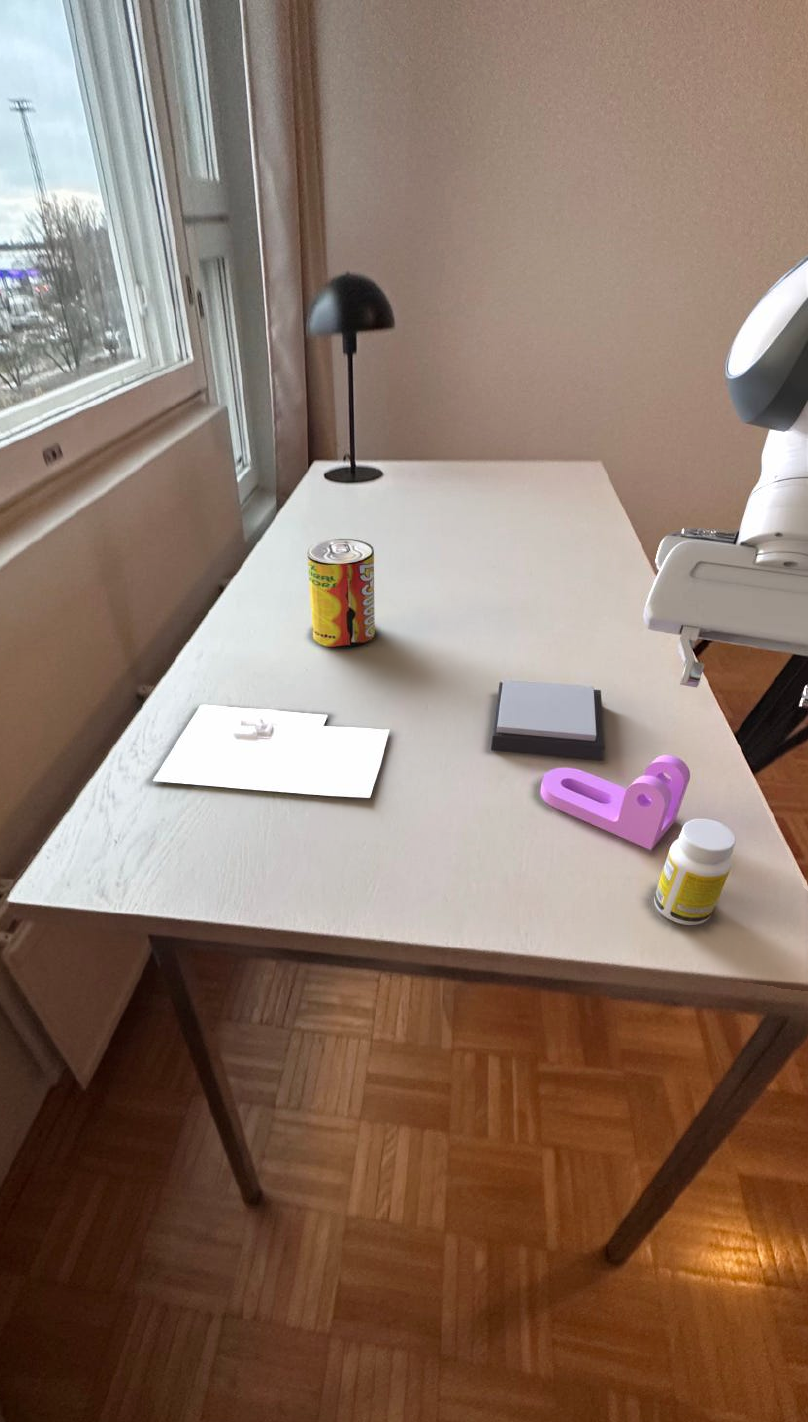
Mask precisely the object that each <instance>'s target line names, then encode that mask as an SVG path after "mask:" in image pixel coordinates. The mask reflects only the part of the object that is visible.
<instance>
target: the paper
mask: <svg viewBox="0 0 808 1422" xmlns="http://www.w3.org/2000/svg"><path fill="white" fill-rule="evenodd" d="M327 718H328V714H321V713H306V712H296V711H285V710H277V709H265V708H247V707H233V706H224V705H215V704H214V705H213V704H200V705H199V706H198V709H197V710H196V712H195V713H194V715H193V717H192V718H191V720H190V721H189V723H188V724H187V726H186V728H185V729H184V730H183V732H182V733H181V735H180V737H179V738H178V739H177V741H176V743H175V744H174V747H173V748H172V749H171V751H170V753H169V754H168V756H167V758H166V759H165V761H164V762H163V763H162V765H161V767H160V769H159V770H158V772H157V773H156V775H155V776H154V778H153V779H152V781H153V782H161V783H173V784H183V785H184V784H185V785H195V786H196V785H198V786H207V787H208V786H210V787H221V788H228V789H229V788H230V789H242V790H253V791H266V792H279V793H290V794H291V793H292V794H302V795H312V796H313V795H315V796H316V795H318V796H329V797H346V798H347V797H348V798H363V799H364V798H367V799H369V798H371V795H372V792H373V789H374V786H375V783H376V780H377V777H378V773H379V771H380V768H381V765H382V760H383V757H384V752H385V749H386V748H385V747H386V745H387V741H388V737H389V735H390V734H389V733H390V729H384V728H383V729H382V728H369V727H353V726H331V725H330V726H329V725H325V723H326V720H327Z"/></svg>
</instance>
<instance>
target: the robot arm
mask: <svg viewBox="0 0 808 1422" xmlns="http://www.w3.org/2000/svg"><path fill="white" fill-rule="evenodd" d="M724 375H725V381H726V387H727V392H728V395H729V399H730V401H731V404H732V406H733V409H734V411H735V413H736V415H737V416H738V417H737V418H738V419H739V421H740V422H741V423H743V424H746V425H750V426H755V427H759V428H763V429H767V430H769V431H768V433H767V436H766V440H765V443H764V445H763V449H762V453H761V458H760V459H761V471H760V476H759V479H758V481H757V482H756V484H755V486H754V487H753V489H752V490H751V492H750V494H749V497H748V500H747V503H746V506H745V510H744V513H743V516H742V520H741V523H740V525H739V526H740V527H739V529H738V531H733V530H724V529H705V528H700V527H698V526H683V528H682V529H679V530H674V531H672V532H670V533H669V534H667V535H666V536H664V537H663V539H662V540H661V542H660V543H659V546H658V550H657V553H656V556H655V563H654V564H655V567H656V570H657V571H658V572H657V575H656V577H655V579H654V581H653V584H652V585H651V588H650V591H649V594H648V597H647V599H646V602H645V605H644V609H643V614H642V619H643V622H644V624H645V626H646V627H647V629H648V630H649V631H652V632H658V633H659V632H660V633H664V634H672V635H677V636H679V639H678V643H677V650H678V653H679V656H680V659H681V662H682V666H683V667H684V669H683V672H682V675H681V679H680V681H679V685H681V686H686V687H691V688H698V687H699V684H700V682H701V679H702V674H703V672H704V668H705V666H706V663H704V662H699V661H696V660H695V655H694V652H693V649H694V648H695V646H696V644H697V642H698V639H701V640H707V641H714V642H719V643H724V644H730V645H736V646H741V647H748V648H754V649H762V650H767V651H773V652H778V653H785V654H791V655H797V656H801V657H807V658H808V254H807V255H806V256H804V258H802V259H800V261H799V262H798V263H797V264H795V265H794V266H793V267H791V269H789V270H788V271H787V272H786V273H784V275H782V276H781V277H780V278H779V279H778V280H777V281H776V282H775V283H774V284H773V285H772V286H771V288H769V289H768V290H767V292H766V293H765V294H764V295H763V296H762V297H761V298H760V300H759V301H758V302H757V304H756V305H755V306H754V308H753V309H752V310H751V311H750V313H749V314H748V316H747V317H746V319H745V320H744V322H743V323H742V325H741V327H740V329H739V330H738V332H737V334H736V336H735V338H734V340H733V342H732V344H731V347H730V349H729V352H728V355H727V357H726V361H725V365H724ZM798 708H802V709H807V710H808V683H807V684H806V685H805V686H804V687H803V690H802V693H801V699H800V700H799V702H798Z"/></svg>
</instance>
